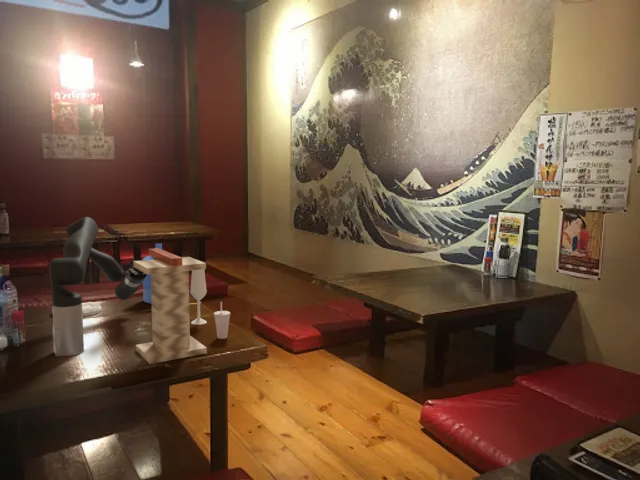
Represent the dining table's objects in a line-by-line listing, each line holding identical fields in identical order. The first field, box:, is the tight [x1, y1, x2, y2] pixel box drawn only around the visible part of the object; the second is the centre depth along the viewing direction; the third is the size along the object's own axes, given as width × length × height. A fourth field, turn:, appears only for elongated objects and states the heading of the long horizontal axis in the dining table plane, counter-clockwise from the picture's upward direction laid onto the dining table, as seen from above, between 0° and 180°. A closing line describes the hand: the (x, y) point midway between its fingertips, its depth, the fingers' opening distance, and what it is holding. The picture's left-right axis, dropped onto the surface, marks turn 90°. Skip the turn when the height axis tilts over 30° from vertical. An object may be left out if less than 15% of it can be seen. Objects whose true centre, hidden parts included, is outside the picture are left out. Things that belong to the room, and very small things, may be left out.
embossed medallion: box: [52, 301, 102, 317], centre depth 237 cm, size 20×20×3 cm
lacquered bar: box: [148, 247, 182, 266], centre depth 187 cm, size 4×26×2 cm, turn 34°
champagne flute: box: [189, 269, 208, 325], centre depth 222 cm, size 7×7×24 cm
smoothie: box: [213, 301, 231, 340], centre depth 203 cm, size 6×6×14 cm
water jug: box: [142, 243, 163, 305], centre depth 259 cm, size 16×16×28 cm
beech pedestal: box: [133, 256, 208, 365], centre depth 185 cm, size 20×16×32 cm
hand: (145, 261), depth 207 cm, fingers open, 8 cm apart
